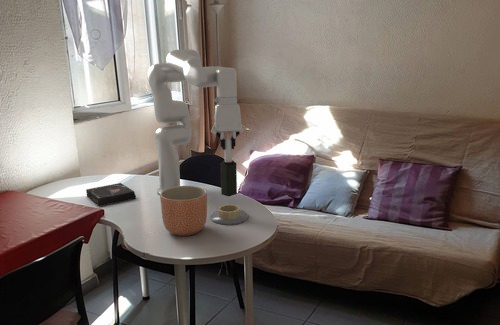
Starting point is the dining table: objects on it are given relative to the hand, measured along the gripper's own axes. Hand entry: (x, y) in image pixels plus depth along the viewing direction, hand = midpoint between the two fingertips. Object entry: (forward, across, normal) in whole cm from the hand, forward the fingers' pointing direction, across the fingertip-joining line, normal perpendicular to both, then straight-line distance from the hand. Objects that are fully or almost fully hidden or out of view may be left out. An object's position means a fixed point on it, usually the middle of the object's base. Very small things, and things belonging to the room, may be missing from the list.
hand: (228, 148), depth 172 cm
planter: (+29, -18, -9) cm, 36 cm away
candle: (+19, 0, 0) cm, 19 cm away
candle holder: (+29, 0, 0) cm, 29 cm away
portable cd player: (+29, -48, +38) cm, 68 cm away
